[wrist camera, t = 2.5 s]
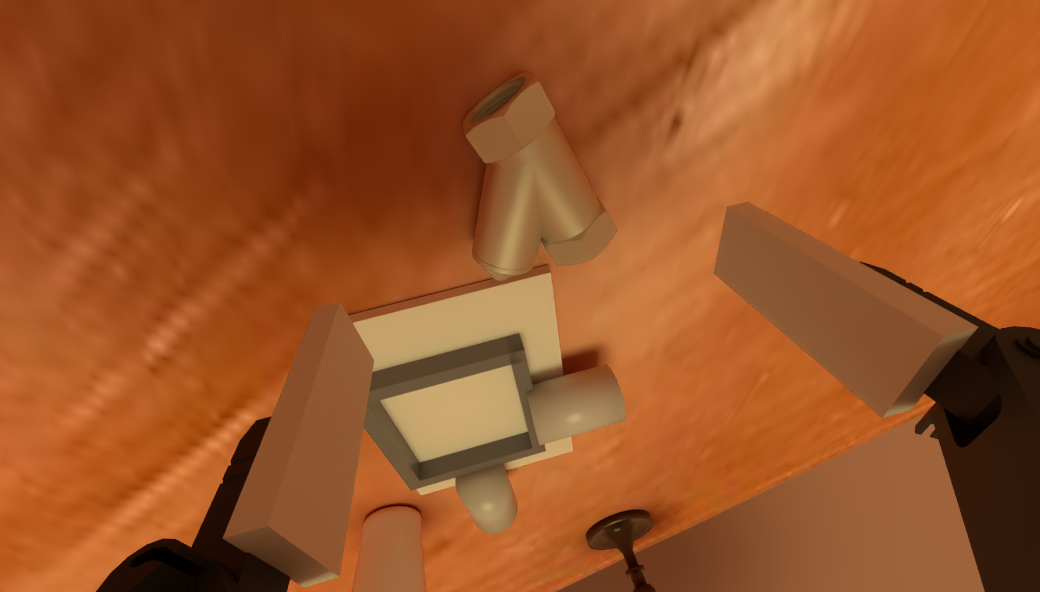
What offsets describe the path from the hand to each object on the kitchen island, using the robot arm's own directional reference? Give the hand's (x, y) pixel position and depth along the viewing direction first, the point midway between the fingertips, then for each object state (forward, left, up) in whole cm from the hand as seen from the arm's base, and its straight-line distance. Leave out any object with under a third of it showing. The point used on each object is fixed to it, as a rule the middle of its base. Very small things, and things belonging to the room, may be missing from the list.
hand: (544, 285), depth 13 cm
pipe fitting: (0, 0, -8) cm, 8 cm away
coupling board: (+16, -4, -8) cm, 18 cm away
